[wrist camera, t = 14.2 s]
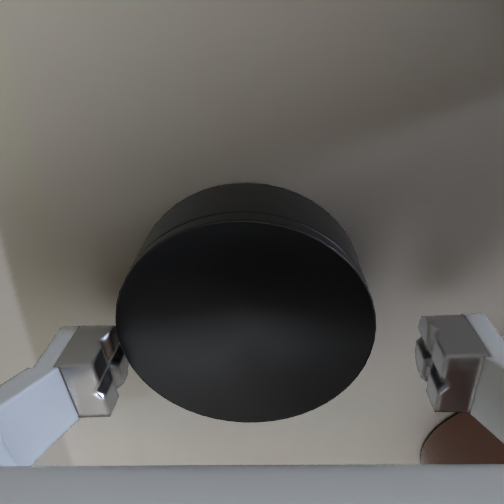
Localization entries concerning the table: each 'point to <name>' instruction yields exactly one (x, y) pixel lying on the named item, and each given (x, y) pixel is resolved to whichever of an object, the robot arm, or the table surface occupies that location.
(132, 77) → the table surface
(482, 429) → the coffee jar
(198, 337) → the lid
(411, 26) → the table surface
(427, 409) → the table surface
